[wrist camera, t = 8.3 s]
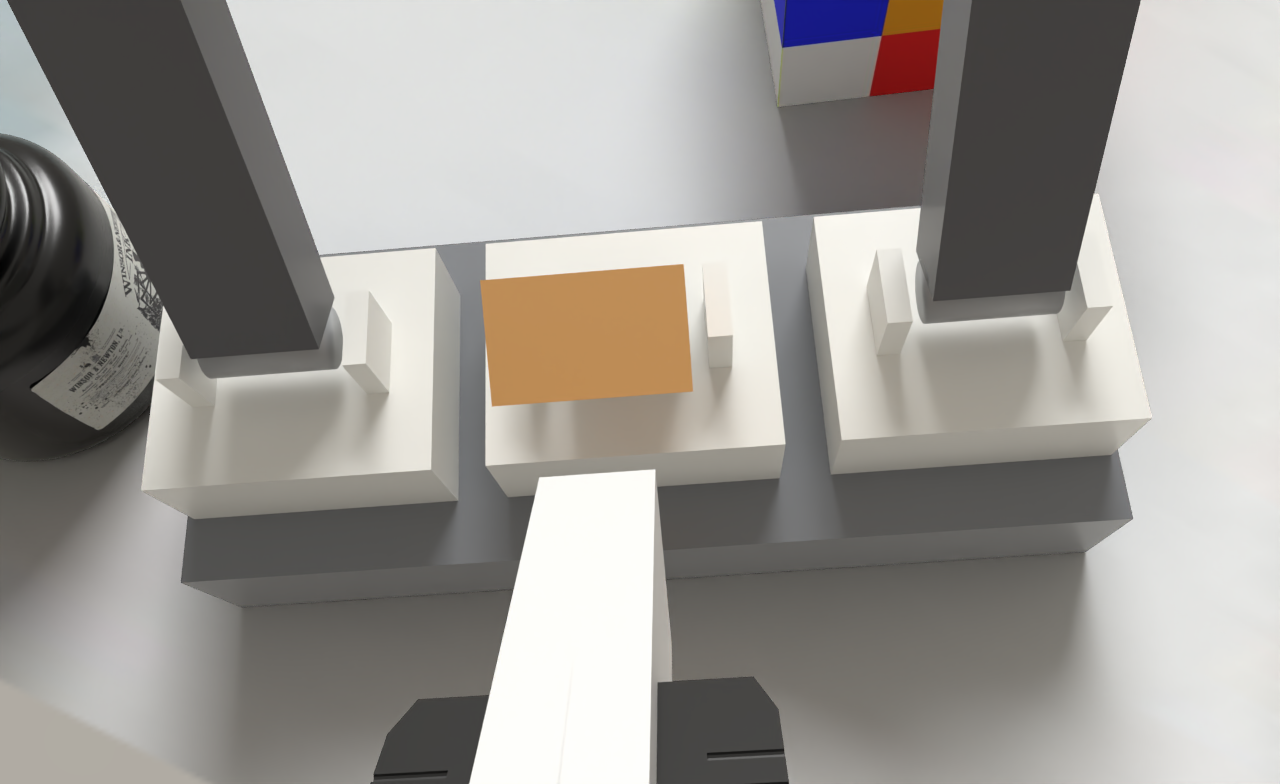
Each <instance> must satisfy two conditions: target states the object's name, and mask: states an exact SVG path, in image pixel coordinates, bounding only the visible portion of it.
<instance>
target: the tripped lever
mask: <svg viewBox="0 0 1280 784" xmlns="http://www.w3.org/2000/svg"><path fill="white" fill-rule="evenodd" d="M480 285H481V296H482V307H483V317H484V328H485V338H486V349H487V360H488V370H489V381H490V392H491V402H492V407H493V406H506V405H520V404H533V403H547V402H560V401H573V400H587V399H600V398H614V397H627V396H641V395H654V394H667V393H681V392H693V383H692V368H691V353H690V339H689V325H688V312H687V299H686V285H685V272H684V264H677V265H664V266H652V267H640V268H627V269H615V270H602V271H590V272H578V273H565V274H553V275H540V276H528V277H515V278H503V279H491V280H480Z"/></svg>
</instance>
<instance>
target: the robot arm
mask: <svg viewBox="0 0 1280 784" xmlns="http://www.w3.org/2000/svg"><path fill="white" fill-rule="evenodd" d="M370 784H789V780H788V773H787V766H786V759H785V755H784V745H783V738H782V732H781V725H780V718H779V711H778V708H777V707H776V706H775V704H774V703H773V702H772V700H771V699H770V698H769V696H768V695H767V694H766V693H765V691H764V690H763V689H762V687H761V686H760V685H759V683H758V682H757V681H756V679H755V678H754V677H739V678H721V679H704V680H687V681H672V640H671V629H670V619H669V608H668V598H667V587H666V577H665V566H664V556H663V545H662V535H661V524H660V513H659V503H658V492H657V482H656V471H655V469H653V470H639V471H625V472H610V473H596V474H581V475H567V476H553V477H539V481H538V486H537V490H536V494H535V499H534V503H533V507H532V512H531V516H530V521H529V525H528V529H527V534H526V538H525V542H524V547H523V551H522V555H521V560H520V564H519V569H518V573H517V577H516V582H515V586H514V590H513V595H512V599H511V604H510V608H509V612H508V617H507V621H506V625H505V630H504V634H503V638H502V643H501V647H500V652H499V656H498V660H497V665H496V669H495V673H494V678H493V682H492V687H491V691H490V695H485V696H468V697H450V698H433V699H418V700H417V701H416V703H415V704H414V705H413V706H412V707H411V708H410V709H409V711H408V712H407V713H406V714H405V715H404V716H403V717H402V718H401V720H400V721H399V722H398V723H397V724H396V725H395V726H394V728H393V729H392V730H391V731H390V732H389V733H388V734H387V737H386V740H385V743H384V746H383V748H382V751H381V754H380V757H379V760H378V763H377V766H376V769H375V772H374V781H373V782H371V783H370Z"/></svg>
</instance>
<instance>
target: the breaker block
mask: <svg viewBox="0 0 1280 784" xmlns="http://www.w3.org/2000/svg"><path fill="white" fill-rule="evenodd" d="M7 1H8V3H9V5H10V7H11V9H12V11H13V13H14V15H15V17H16V19H17V21H18V23H19V25H20V27H21V29H22V30H23V32H24V34H25V36H26V38H27V40H28V42H29V44H30V46H31V48H32V50H33V52H34V54H35V56H36V58H37V60H38V62H39V64H40V66H41V68H42V70H43V71H44V73H45V75H46V77H47V79H48V81H49V83H50V85H51V87H52V89H53V91H54V93H55V95H56V97H57V99H58V101H59V103H60V105H61V107H62V109H63V111H64V112H65V114H66V116H67V118H68V120H69V122H70V124H71V126H72V128H73V130H74V132H75V134H76V136H77V138H78V140H79V142H80V144H81V146H82V148H83V150H84V152H85V154H86V155H87V157H88V159H89V161H90V163H91V165H92V167H93V169H94V171H95V173H96V175H97V177H98V179H99V181H100V183H101V185H102V187H103V189H104V191H105V193H106V195H107V196H108V198H109V200H110V202H111V204H112V206H113V208H114V210H115V212H116V214H117V216H118V218H119V220H120V222H121V224H122V226H123V228H124V230H125V232H126V234H127V236H128V237H129V239H130V241H131V243H132V245H133V247H134V249H135V251H136V253H137V255H138V257H139V259H140V261H141V263H142V265H143V267H144V269H145V271H146V273H147V275H148V277H149V278H150V280H151V282H152V284H153V286H154V288H155V290H156V292H157V294H158V296H159V298H160V300H161V302H162V304H163V312H162V320H161V328H160V336H159V345H158V353H157V361H156V369H155V378H154V386H153V394H152V402H151V410H150V419H149V427H148V435H147V443H146V451H145V460H144V468H143V476H142V484H141V491H143V492H144V493H146V494H148V495H150V496H152V497H154V498H156V499H157V500H159V501H161V502H163V503H165V504H167V505H169V506H171V507H172V508H174V509H176V510H178V511H180V512H182V513H184V514H185V515H187V516H188V520H187V529H186V539H185V548H184V558H183V567H182V577H181V583H183V584H185V585H188V586H190V587H193V588H195V589H198V590H200V591H203V592H205V593H207V594H210V595H212V596H215V597H217V598H220V599H222V600H225V601H227V602H230V603H232V604H235V605H237V606H239V607H253V606H268V605H283V604H298V603H313V602H329V601H344V600H359V599H374V598H389V597H405V596H420V595H435V594H450V593H465V592H481V591H496V590H511V589H514V586H515V582H516V577H517V573H518V569H519V564H520V560H521V555H522V551H523V547H524V542H525V538H526V534H527V529H528V525H529V521H530V516H531V512H532V507H533V503H534V499H535V494H536V490H537V486H538V481H539V477H553V476H567V475H581V474H596V473H610V472H625V471H639V470H653V469H655V471H656V482H657V492H658V503H659V513H660V524H661V535H662V545H663V556H664V566H665V577H666V579H678V578H693V577H709V576H724V575H739V574H754V573H769V572H785V571H800V570H815V569H830V568H845V567H861V566H876V565H891V564H906V563H921V562H937V561H952V560H967V559H982V558H997V557H1013V556H1028V555H1043V554H1058V553H1073V552H1086V551H1088V550H1089V549H1091V548H1092V547H1093V546H1095V545H1096V544H1098V543H1099V542H1101V541H1102V540H1103V539H1105V538H1106V537H1108V536H1109V535H1111V534H1112V533H1114V532H1115V531H1116V530H1118V529H1119V528H1121V527H1122V526H1124V525H1125V524H1126V523H1128V522H1129V521H1131V520H1132V519H1133V516H1132V511H1131V507H1130V502H1129V498H1128V493H1127V489H1126V484H1125V480H1124V475H1123V471H1122V466H1121V462H1120V458H1119V453H1118V448H1120V447H1121V446H1122V445H1123V444H1124V443H1125V442H1126V441H1127V440H1128V439H1129V438H1131V437H1132V436H1133V435H1134V434H1135V433H1136V432H1137V431H1138V430H1139V429H1141V428H1142V427H1143V426H1144V425H1145V424H1146V423H1147V422H1148V421H1149V420H1151V419H1152V415H1151V411H1150V406H1149V402H1148V398H1147V394H1146V390H1145V385H1144V381H1143V377H1142V373H1141V369H1140V364H1139V360H1138V356H1137V352H1136V348H1135V344H1134V339H1133V335H1132V331H1131V327H1130V323H1129V318H1128V314H1127V310H1126V306H1125V302H1124V297H1123V293H1122V289H1121V285H1120V281H1119V276H1118V272H1117V268H1116V264H1115V260H1114V256H1113V251H1112V247H1111V243H1110V239H1109V235H1108V230H1107V226H1106V222H1105V218H1104V214H1103V209H1102V205H1101V201H1100V197H1099V193H1097V194H1094V191H1095V187H1096V183H1097V179H1098V175H1099V171H1100V166H1101V162H1102V158H1103V154H1104V150H1105V146H1106V142H1107V137H1108V133H1109V129H1110V125H1111V121H1112V117H1113V113H1114V108H1115V104H1116V100H1117V96H1118V92H1119V88H1120V84H1121V80H1122V75H1123V71H1124V67H1125V63H1126V59H1127V55H1128V51H1129V46H1130V42H1131V38H1132V34H1133V30H1134V26H1135V22H1136V17H1137V13H1138V9H1139V5H1140V1H1141V0H944V2H943V11H942V20H941V29H940V38H939V47H938V56H937V65H936V74H935V83H934V92H933V101H932V110H931V119H930V128H929V137H928V146H927V155H926V164H925V173H924V182H923V191H922V200H921V206H909V207H897V208H885V209H872V210H860V211H848V212H836V213H824V214H812V215H800V216H788V217H775V218H763V219H751V220H739V221H727V222H715V223H703V224H690V225H678V226H666V227H654V228H642V229H630V230H618V231H605V232H593V233H581V234H569V235H557V236H545V237H533V238H520V239H508V240H496V241H484V242H472V243H460V244H448V245H436V246H423V247H411V248H399V249H387V250H375V251H363V252H351V253H338V254H326V255H319V254H318V251H317V248H316V245H315V243H314V240H313V237H312V234H311V232H310V229H309V226H308V224H307V221H306V218H305V215H304V213H303V210H302V207H301V204H300V202H299V199H298V196H297V194H296V191H295V188H294V185H293V183H292V180H291V177H290V174H289V172H288V169H287V166H286V164H285V161H284V158H283V155H282V153H281V150H280V147H279V144H278V142H277V139H276V136H275V134H274V131H273V128H272V125H271V123H270V120H269V117H268V114H267V112H266V109H265V106H264V104H263V101H262V98H261V95H260V93H259V90H258V87H257V84H256V82H255V79H254V76H253V74H252V71H251V68H250V65H249V63H248V60H247V57H246V54H245V52H244V49H243V46H242V44H241V41H240V38H239V35H238V33H237V30H236V27H235V24H234V22H233V19H232V16H231V14H230V11H229V8H228V5H227V3H226V0H7ZM677 264H684V272H685V285H686V299H687V312H688V325H689V339H690V353H691V368H692V383H693V392H681V393H667V394H654V395H641V396H627V397H614V398H600V399H587V400H573V401H560V402H547V403H533V404H520V405H506V406H493V407H492V402H491V392H490V381H489V370H488V360H487V349H486V338H485V328H484V317H483V307H482V296H481V285H480V280H491V279H503V278H515V277H528V276H540V275H553V274H565V273H578V272H590V271H602V270H615V269H627V268H640V267H652V266H664V265H677Z"/></svg>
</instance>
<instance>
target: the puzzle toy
mask: <svg viewBox="0 0 1280 784" xmlns="http://www.w3.org/2000/svg"><path fill="white" fill-rule="evenodd" d="M943 2H944V0H760V3H761V9H762V15H763V21H764V27H765V34H766V40H767V46H768V52H769V58H770V64H771V71H772V77H773V83H774V89H775V95H776V102H777V107H784V106H793V105H801V104H810V103H818V102H827V101H835V100H843V99H852V98H860V97H869V96H877V95H886V94H894V93H902V92H911V91H919V90H928V89H934V83H935V74H936V65H937V56H938V47H939V38H940V29H941V20H942V11H943Z"/></svg>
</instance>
